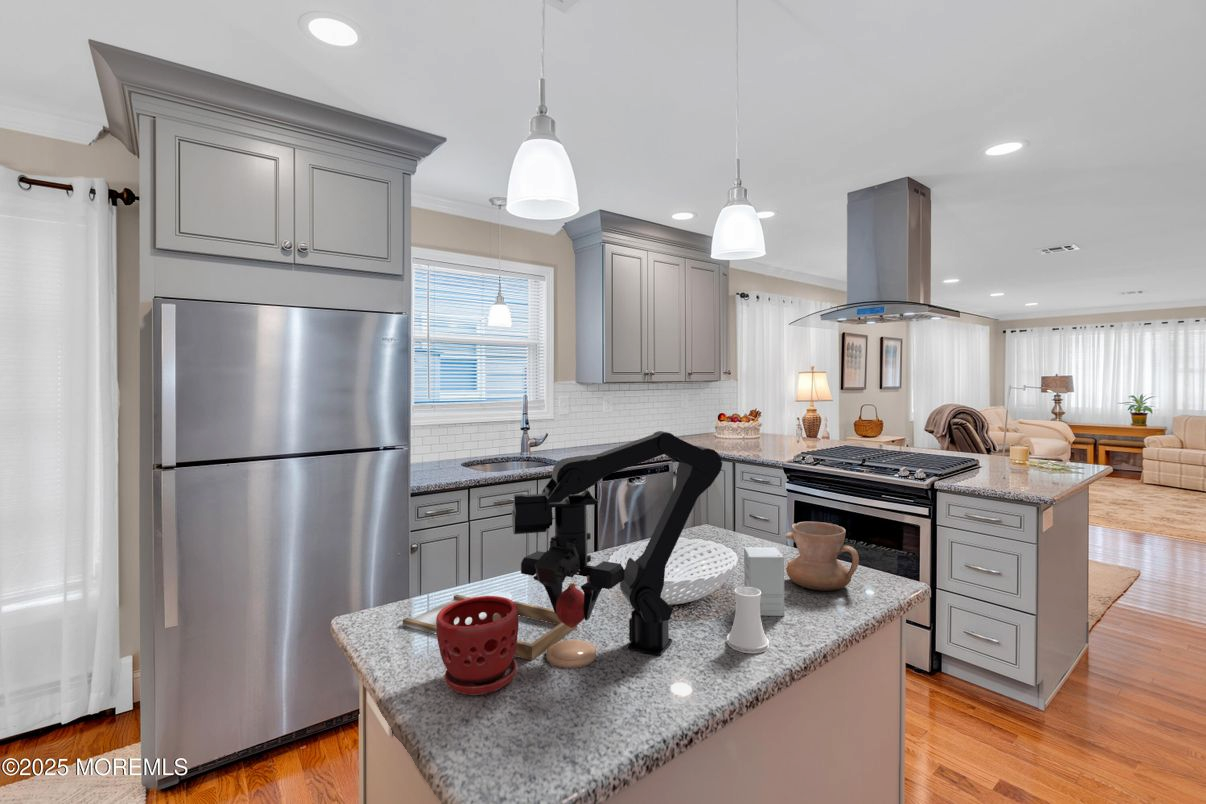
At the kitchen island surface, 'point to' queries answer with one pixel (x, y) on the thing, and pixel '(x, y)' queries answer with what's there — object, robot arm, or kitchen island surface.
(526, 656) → the wooden double frame
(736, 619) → the vase
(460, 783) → the kitchen island surface
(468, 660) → the plant pot
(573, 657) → the saucer
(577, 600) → the onion
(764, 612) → the supplement box
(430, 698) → the kitchen island surface
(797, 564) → the ceramic jug
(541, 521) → the robot arm
